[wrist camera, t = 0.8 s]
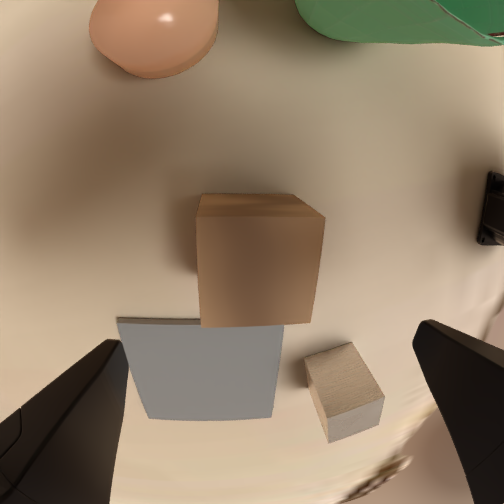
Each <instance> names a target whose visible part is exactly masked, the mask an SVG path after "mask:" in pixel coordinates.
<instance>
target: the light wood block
mask: <svg viewBox="0 0 504 504" xmlns="http://www.w3.org/2000/svg"><path fill="white" fill-rule="evenodd" d="M304 363H305V369H306V376H307V382H308V388H309V391H310V394H311V397H312V399H313V402H314V405H315V408H316V410H317V413H318V416H319V419H320V421H321V424H322V427H323V430H324V432H325V435H326V438H327V441H328V444H329V443H332V442H335V441H338V440H340V439H343V438H346V437H349V436H352V435H354V434H357V433H359V432H362V431H364V430H367V429H369V428H372V427H374V426H377V425H379V421H380V417H381V412H382V408H383V403H384V399H385V396H384V394H383V392H382V391H381V389H380V387H379V386H378V384H377V382H376V381H375V379H374V377H373V376H372V374H371V372H370V371H369V369H368V367H367V366H366V364H365V362H364V361H363V359H362V358H361V356H360V354H359V353H358V351H357V349H356V348H355V346H354V345H353V343H352V342H351V343H348V344H345V345H342V346H339V347H336V348H333V349H330V350H327V351H324V352H321V353H318V354H314V355H311V356H308V357H305V358H304Z"/></svg>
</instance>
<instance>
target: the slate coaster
mask: <svg viewBox="0 0 504 504" xmlns="http://www.w3.org/2000/svg"><path fill="white" fill-rule="evenodd" d="M117 326H118V330H119V334H120V337H121V341H122V344H123V347H124V350H125V353H126V357H127V360H128V364H129V367H130V370H131V373H132V376H133V379H134V382H135V384H136V387H137V390H138V393H139V395H140V398H141V401H142V403H143V406H144V408H145V411H146V413H147V416H148V418H149V419H161V420H182V421H225V420H246V419H260V418H271V416H272V410H273V404H274V397H275V390H276V384H277V377H278V370H279V362H280V355H281V347H282V340H283V332H284V325H272V326H252V327H221V328H201V319H135V318H119V319H118V321H117Z"/></svg>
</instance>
